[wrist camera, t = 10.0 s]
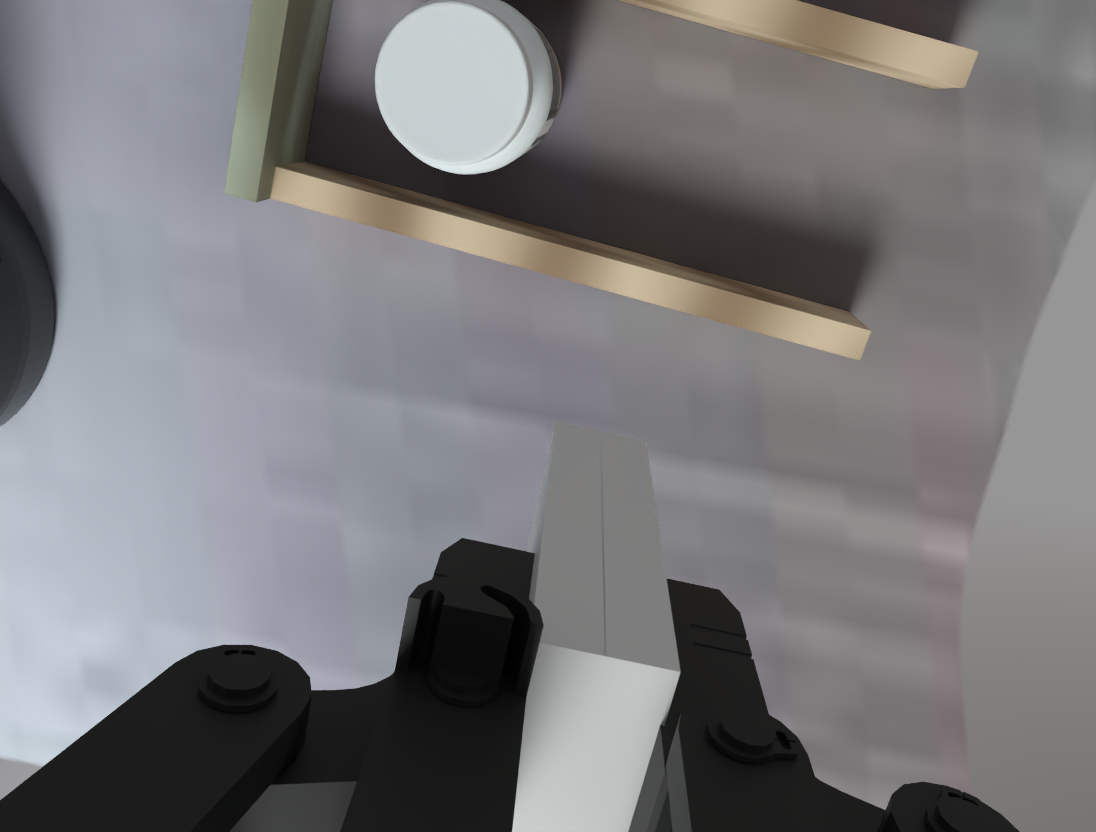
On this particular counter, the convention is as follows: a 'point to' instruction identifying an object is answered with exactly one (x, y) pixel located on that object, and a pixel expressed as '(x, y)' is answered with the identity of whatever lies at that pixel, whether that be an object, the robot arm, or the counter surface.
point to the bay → (282, 174)
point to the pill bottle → (467, 84)
